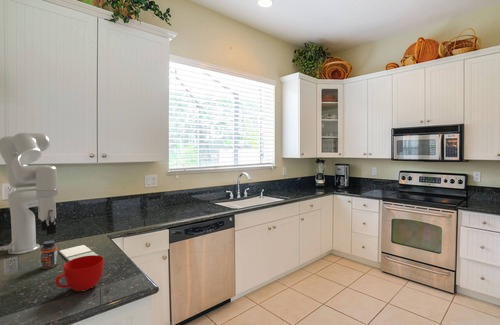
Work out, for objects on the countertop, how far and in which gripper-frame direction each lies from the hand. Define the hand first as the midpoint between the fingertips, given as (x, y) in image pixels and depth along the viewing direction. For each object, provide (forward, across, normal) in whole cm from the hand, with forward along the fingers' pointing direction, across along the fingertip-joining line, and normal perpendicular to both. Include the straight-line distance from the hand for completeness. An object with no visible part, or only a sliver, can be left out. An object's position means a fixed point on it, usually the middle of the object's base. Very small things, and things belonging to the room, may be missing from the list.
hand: (48, 231), depth 118 cm
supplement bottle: (+16, -1, 0) cm, 16 cm away
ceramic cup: (+17, +32, +3) cm, 36 cm away
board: (+16, -4, +13) cm, 21 cm away
